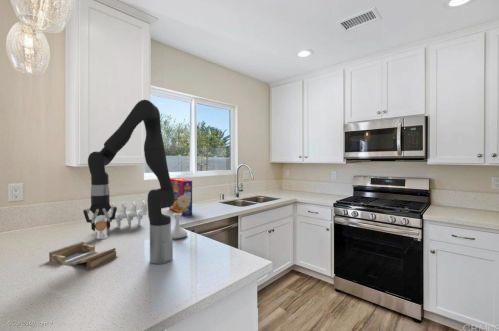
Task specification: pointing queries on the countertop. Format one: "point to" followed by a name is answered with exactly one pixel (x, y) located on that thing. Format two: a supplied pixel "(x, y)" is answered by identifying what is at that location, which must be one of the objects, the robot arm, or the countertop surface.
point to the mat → (77, 257)
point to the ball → (100, 225)
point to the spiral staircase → (129, 213)
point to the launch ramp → (98, 258)
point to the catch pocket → (69, 252)
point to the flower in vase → (177, 230)
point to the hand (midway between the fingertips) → (100, 229)
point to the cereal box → (181, 189)
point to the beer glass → (103, 233)
